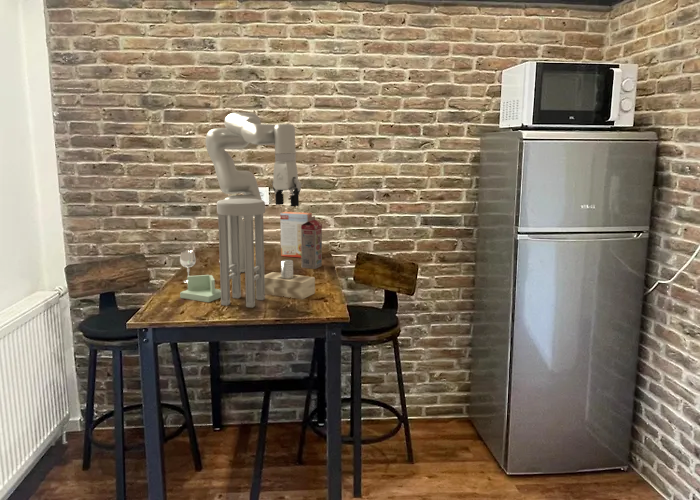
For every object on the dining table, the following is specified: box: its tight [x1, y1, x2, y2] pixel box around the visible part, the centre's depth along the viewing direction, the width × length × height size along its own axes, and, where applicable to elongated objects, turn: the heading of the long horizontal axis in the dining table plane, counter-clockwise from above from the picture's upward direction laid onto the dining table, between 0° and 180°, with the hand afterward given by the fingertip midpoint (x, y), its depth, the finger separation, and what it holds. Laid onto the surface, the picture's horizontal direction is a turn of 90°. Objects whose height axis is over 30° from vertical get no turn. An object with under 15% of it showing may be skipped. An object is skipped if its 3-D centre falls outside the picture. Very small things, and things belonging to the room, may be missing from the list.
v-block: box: [179, 274, 221, 303], centre depth 207 cm, size 10×12×7 cm
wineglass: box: [179, 249, 196, 284], centre depth 228 cm, size 6×6×12 cm
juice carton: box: [301, 215, 323, 270], centre depth 254 cm, size 7×7×22 cm
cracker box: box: [280, 211, 313, 259], centre depth 275 cm, size 14×6×21 cm, turn 71°
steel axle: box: [280, 259, 294, 280], centre depth 212 cm, size 4×4×12 cm
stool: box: [216, 198, 266, 308], centre depth 199 cm, size 16×16×35 cm
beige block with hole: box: [264, 271, 316, 300], centre depth 213 cm, size 18×9×6 cm, turn 65°
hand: (287, 205), depth 217 cm, fingers open, 9 cm apart
